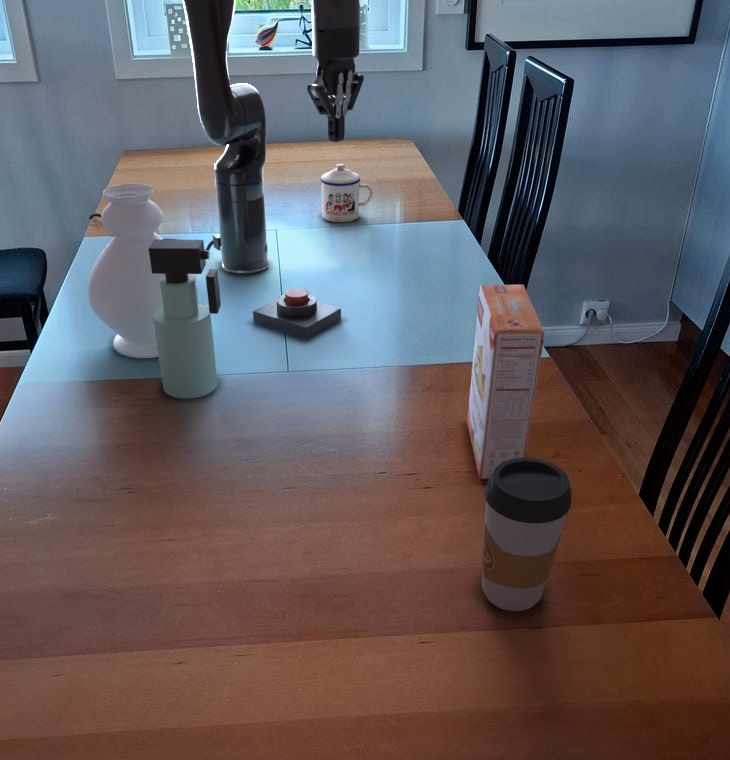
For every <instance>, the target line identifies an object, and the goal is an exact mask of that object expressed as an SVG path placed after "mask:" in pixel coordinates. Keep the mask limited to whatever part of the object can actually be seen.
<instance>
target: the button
mask: <svg viewBox="0 0 730 760" xmlns="http://www.w3.org/2000/svg"><path fill="white" fill-rule="evenodd" d="M284 294H285V303H286V304H289V305H303V304H306V303H308V294H309V291H308V290H307V289H306V288H301V287H295V288H294V287H293V288H290V289H287V290H286V291H285V292H284Z"/></svg>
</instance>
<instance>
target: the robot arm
mask: <svg viewBox="0 0 730 760" xmlns="http://www.w3.org/2000/svg"><path fill="white" fill-rule="evenodd" d="M181 2H182V8H183V11H184V16H185V22H186V27H187V34H188V37H189V38H188V40H189V45H190V50H191V51H190V52H191V56H192V63H193V72H194V81H195V89H196V90H195V91H196V100H197V109H198V115H199V119H200V123H201V126H202V129H203V131H204V133H205V135H206V137H207V138H208V139H209V141H211V142H212V143H213V144H214V145H216V146H219V147H221V146H226V147H225V150H224V152H223V154H222V155H221V156H220V157H219V159H218V160H217V161H216V163H214V168H213V173H214V184H215V195H216V204H217V205H216V206H217V216H218V217H217V220H218V230H219V233H218V234H213V235H212V240H210V242H209V243H208V244H207V246H206V248H204V250H208V251H209V252H210V249H211V248H212V247H213V248H215V250H217V251H220V253H221V265H222V266H221V267H222V269H223V270H224V271H225V272H227V273H230V274H235V275H250V274H257V273H259V272H260V273H261V272H263V271H264V270H266V269H267V268H268V267H269V260H268V252H269V249H268V248H269V247H268V241H267V239H268V238H267V224H266V223H267V222H266V208H265V207H266V205H265V191H264V166H265V164H266V160H267V119H266V110H265V106H264V102H263V98H262V96H261V95H260V93H259V92H258V90H257V89H256V88H255V87H254V86H252V85H251V84H248V83H236V84H232V85H231V82H230V77H229V70H228V69H229V68H228V61H227V52H228V51H227V50H228V44H229V43H228V42H229V36H230V32H231V28H232V23H233V18H234V13H235V6H236V0H181ZM360 6H361V4H360V0H311V32H312V33H311V34H312V36H311V38H312V56H313V57H314V58H315V59H316V60H317V67H316V72H315V74H316V79H315V80H314V82H313V84H312V83H309V84H307V87H306V90H307V93H308V95H309V97H310V99H311V100H312V102H313V105H314V107H315V108H316V111H317V112H318V114H319V115H321V116H325V117H326V118H327V137H328V140H329V141H330V142H333V143H339V142H343V141H344V140H345V134H346V132H345V131H346V129H345V126H346V125H345V123H346V117H347V114H348V112H349V111H353V109H354V107H355V105H356V102H357V98H358V97H359V94H360V91H361V88H362V85H363V83H364V81H365V76H364V75H363V74H359V73H357V71H356V62H355V58H357V57H359V55H360V41H361V40H360V39H361V38H360V30H361V26H360V25H361V23H360V22H361V20H360V19H361V7H360ZM101 214H102V213H99V212H94V213H91V214H90V215H89V217H88V220H92V219H94V218H95V217H98V218H100V219H101ZM163 239H164V240H180V239H179V238H165V237H164V238H163Z"/></svg>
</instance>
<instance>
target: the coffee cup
mask: <svg viewBox="0 0 730 760" xmlns="http://www.w3.org/2000/svg"><path fill="white" fill-rule="evenodd" d="M570 481H571V480H570V479H569V476H568V475H567V473H566V472H565V471H564V470H563V469H562V468H560V467H559V466H558V465H556V464H554V463H551V462H549V461H546V460H543V459H540V458H533V457H525V458H516V459H510V460H507V461H504V462H502V463H501V464H499V465H498V466H497V467H496V468H495V470H494V472H493V474H492V475H491V476H490V477H489V479H487V484H486V486H485V489H484V490H485V491H484V497H485V517H484V522H483V536H482V537H483V539H482V559H481V571H482V575H481V587H482V592H483V593H484V596H485V598H486V599H487V601H489V602H490V604H492V605H493V606H495V607H496V608H499V609H501V610H503V611H509V612H522V611H527V610H529V609H532V608H533V607H534V606H535V605H536V604H537V603H539V602H540V600H541V599H542V596H543V593H544V590H545V586H546V584H547V581H548V579H549V577H550V573H551V569H552V567H553V563H554V560H555V556H556V555H557V554H556V553H557V550H558V547H559V543H560V540H561V536H562V530H563V528H564V524H565V521H566V517H567V514H568V513H569V511H570V509H571V507H572V497H573V496H572V495H573V490H572V487H571V483H570Z"/></svg>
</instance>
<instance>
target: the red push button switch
mask: <svg viewBox="0 0 730 760" xmlns="http://www.w3.org/2000/svg"><path fill="white" fill-rule="evenodd" d="M252 316H253V323H254V324H258V325H260V326H263V327H265V328H266V327H267V328H269V329H273V330H276V331H278V332H282V333H285V334H288V335H291V336H294V337H297V338H300V339H304V340H309V339H310V338H312V337H313V336H315V335H317V334H319V333H321V332H323V331H324V330H326V329H328V328H329V327H332V326H333V325H335V324H336V323H338V322H340V321H341V320H342V308H341V307H337V306H334V305H331V304H327V303H325V302H324V303H323V302H321V301H318V298H317V297H316V296H315V295H314V294H311V293H308V303H306V304H303V305H289V304H286V303H285V293H284V294H282V295H279V296H278V298H276V299H274V300H272V301H270V302H268V303H266V304H264V305H263V306H260V307H258V308H257V309H253V311H252Z"/></svg>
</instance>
